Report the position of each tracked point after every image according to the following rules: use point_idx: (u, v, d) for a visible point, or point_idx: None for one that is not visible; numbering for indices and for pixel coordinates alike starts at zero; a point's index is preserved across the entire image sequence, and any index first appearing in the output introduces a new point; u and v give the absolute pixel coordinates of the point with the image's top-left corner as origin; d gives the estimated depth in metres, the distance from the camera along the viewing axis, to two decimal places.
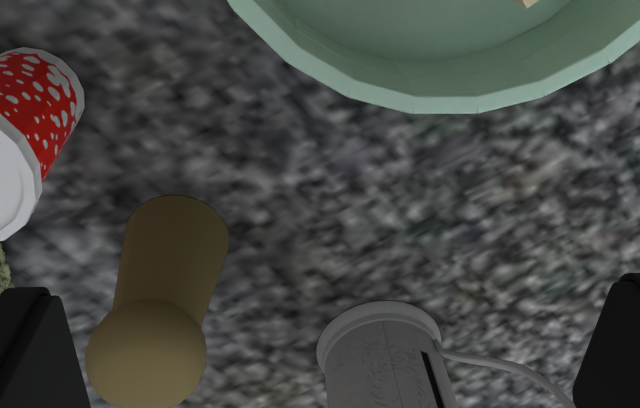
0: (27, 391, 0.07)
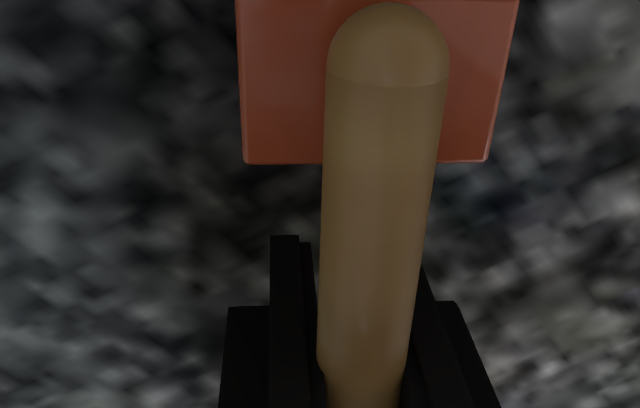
0: None
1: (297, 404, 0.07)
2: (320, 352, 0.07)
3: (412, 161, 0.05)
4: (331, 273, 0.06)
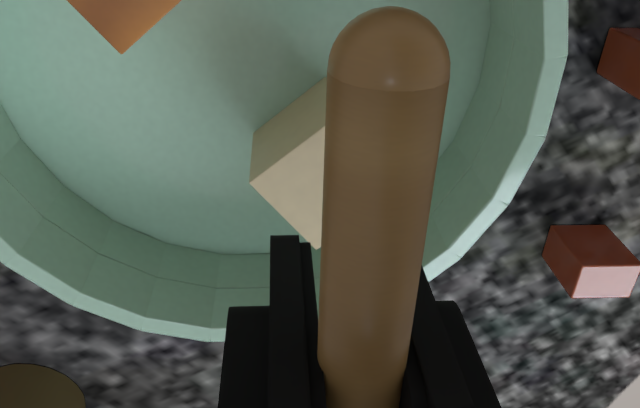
0: None
1: (297, 404, 0.07)
2: (321, 354, 0.07)
3: (413, 164, 0.05)
4: (332, 277, 0.06)
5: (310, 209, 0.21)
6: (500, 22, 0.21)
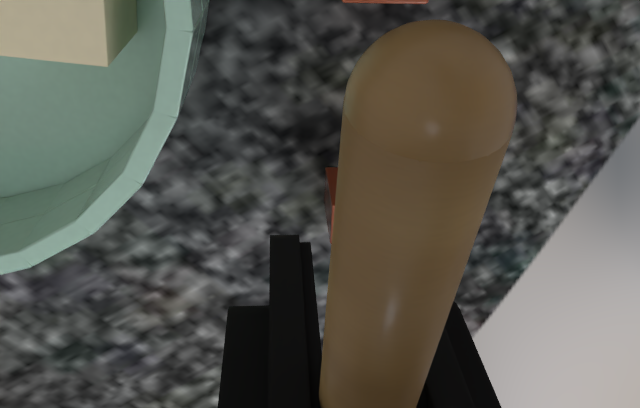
0: None
1: (297, 404, 0.07)
2: None
3: None
4: (405, 352, 0.05)
5: None
6: None
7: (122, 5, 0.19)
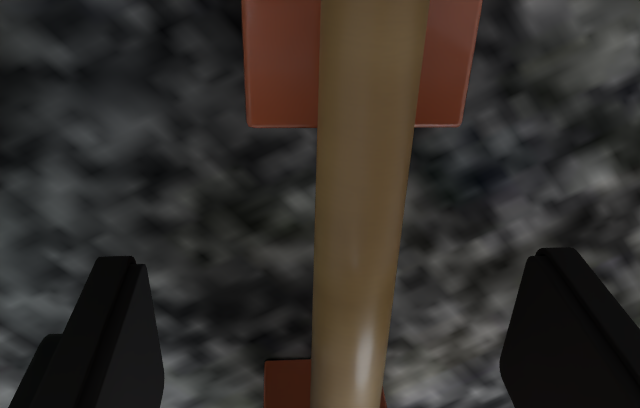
0: (128, 347, 0.08)
1: None
2: (356, 278, 0.07)
3: None
4: (377, 188, 0.07)
5: None
6: None
7: None
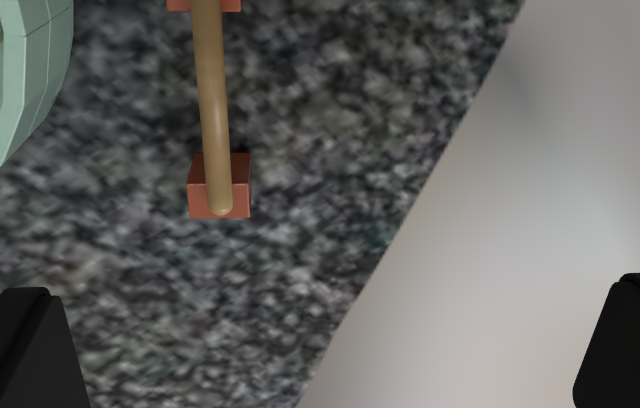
0: (27, 391, 0.07)
1: None
2: (209, 59, 0.23)
3: None
4: (211, 24, 0.22)
5: None
6: None
7: None
